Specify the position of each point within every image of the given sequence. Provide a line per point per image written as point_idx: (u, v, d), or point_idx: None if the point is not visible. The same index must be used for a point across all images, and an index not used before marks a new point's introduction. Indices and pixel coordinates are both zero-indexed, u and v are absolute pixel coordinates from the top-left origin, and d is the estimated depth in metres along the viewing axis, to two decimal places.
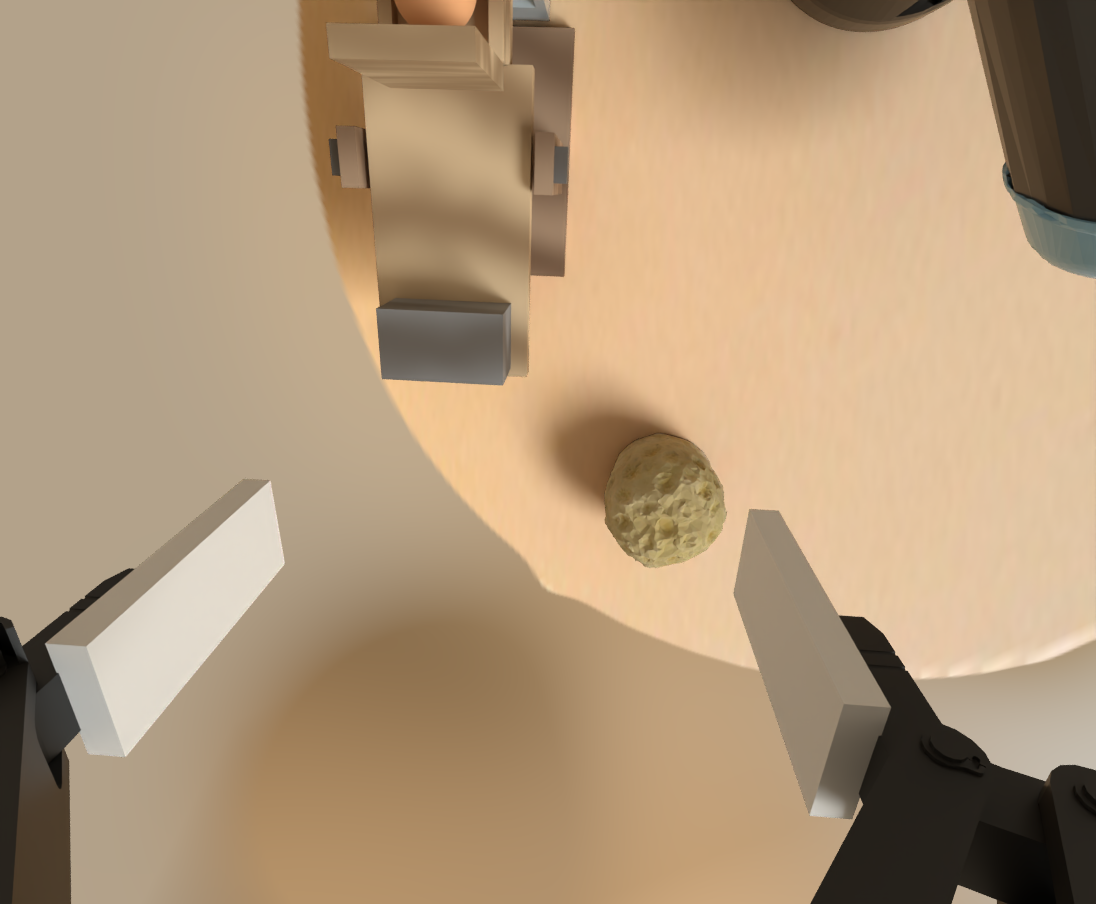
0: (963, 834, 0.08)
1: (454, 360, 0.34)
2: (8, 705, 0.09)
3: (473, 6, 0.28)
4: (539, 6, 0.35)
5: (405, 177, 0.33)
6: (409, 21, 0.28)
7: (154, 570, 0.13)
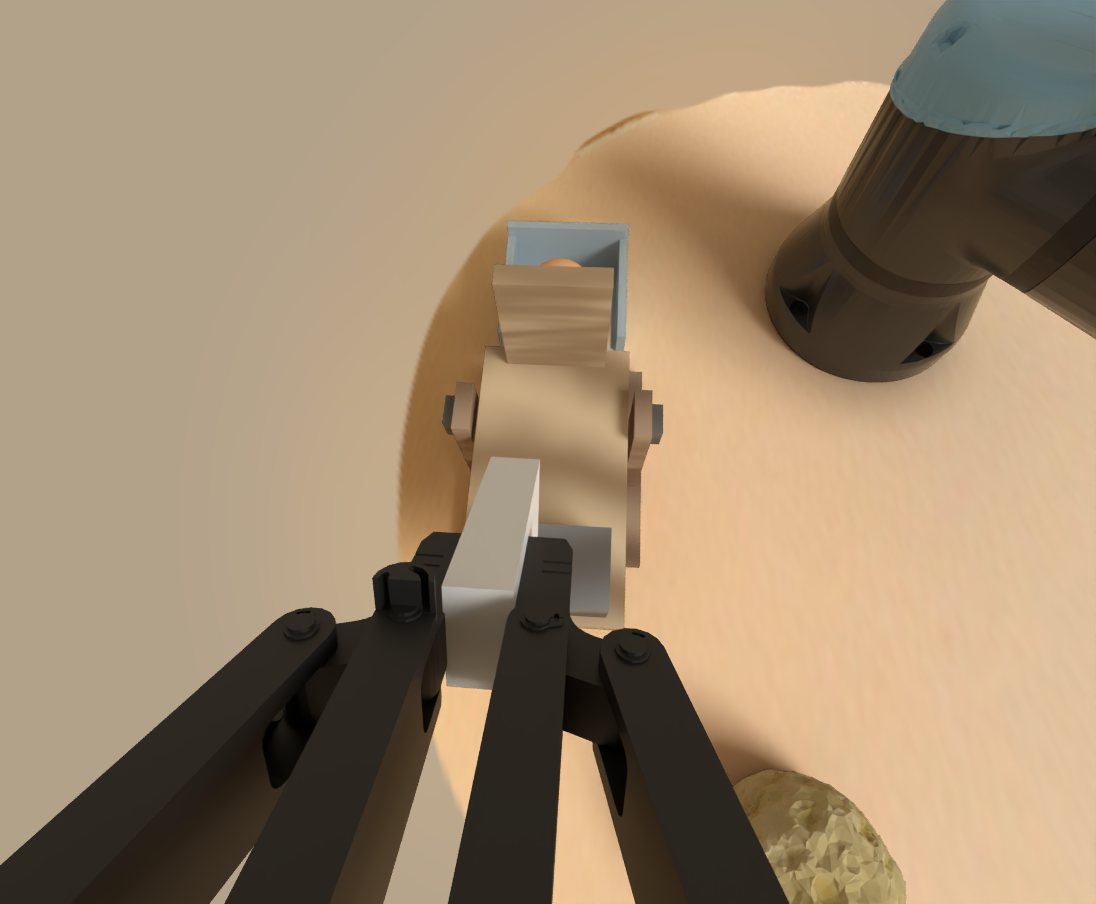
0: (559, 671, 0.10)
1: None
2: (411, 649, 0.11)
3: None
4: (618, 349, 0.45)
5: (510, 427, 0.36)
6: None
7: (480, 530, 0.14)
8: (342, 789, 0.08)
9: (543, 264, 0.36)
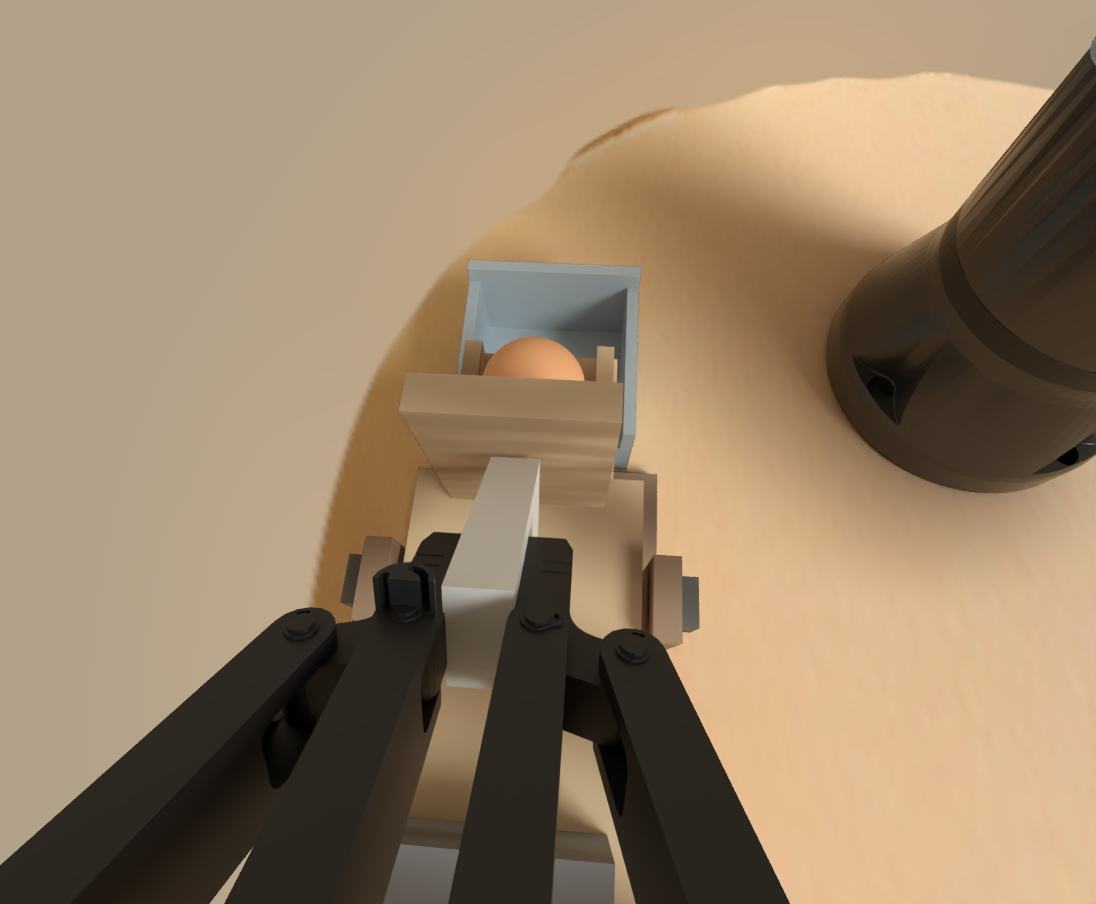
0: (559, 671, 0.10)
1: None
2: (410, 649, 0.11)
3: None
4: (624, 447, 0.31)
5: None
6: None
7: (480, 530, 0.14)
8: (342, 788, 0.08)
9: (506, 348, 0.22)
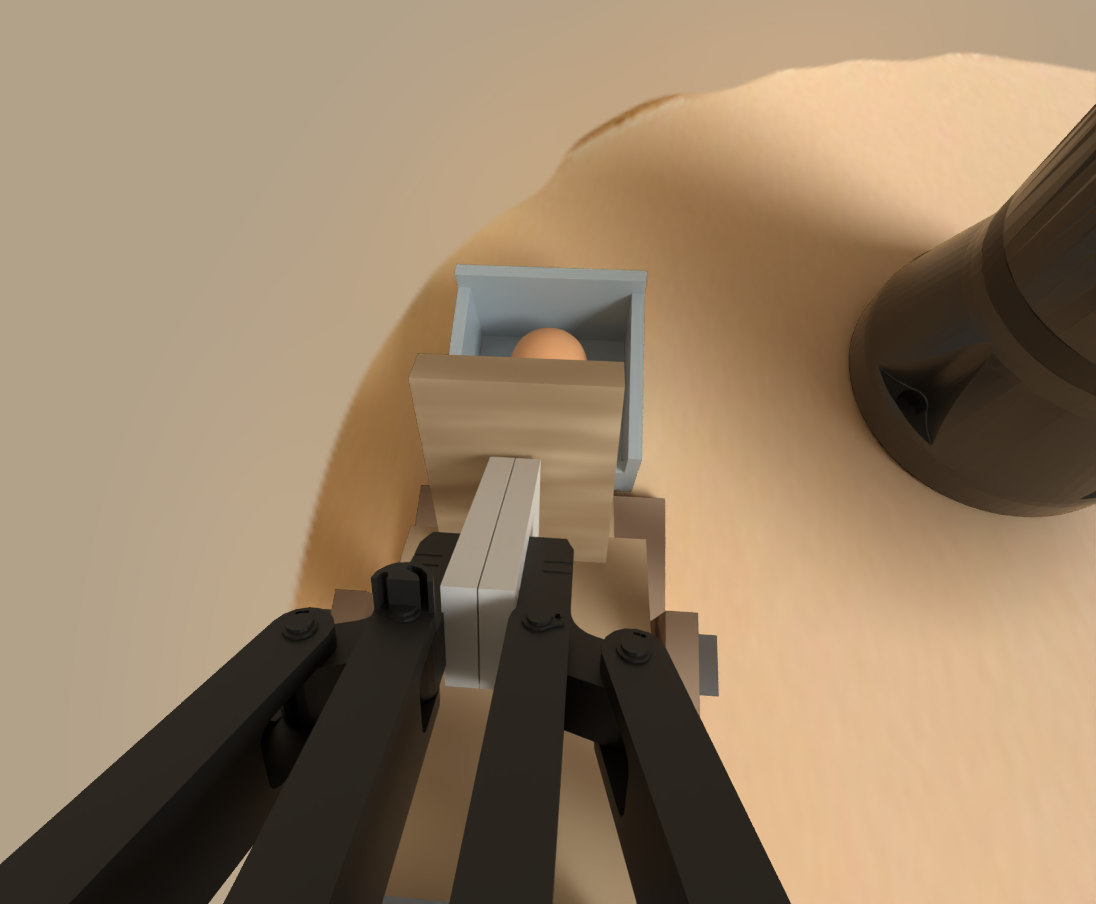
0: (561, 671, 0.10)
1: None
2: (409, 648, 0.11)
3: None
4: (629, 471, 0.28)
5: None
6: None
7: (479, 530, 0.14)
8: (340, 789, 0.08)
9: None
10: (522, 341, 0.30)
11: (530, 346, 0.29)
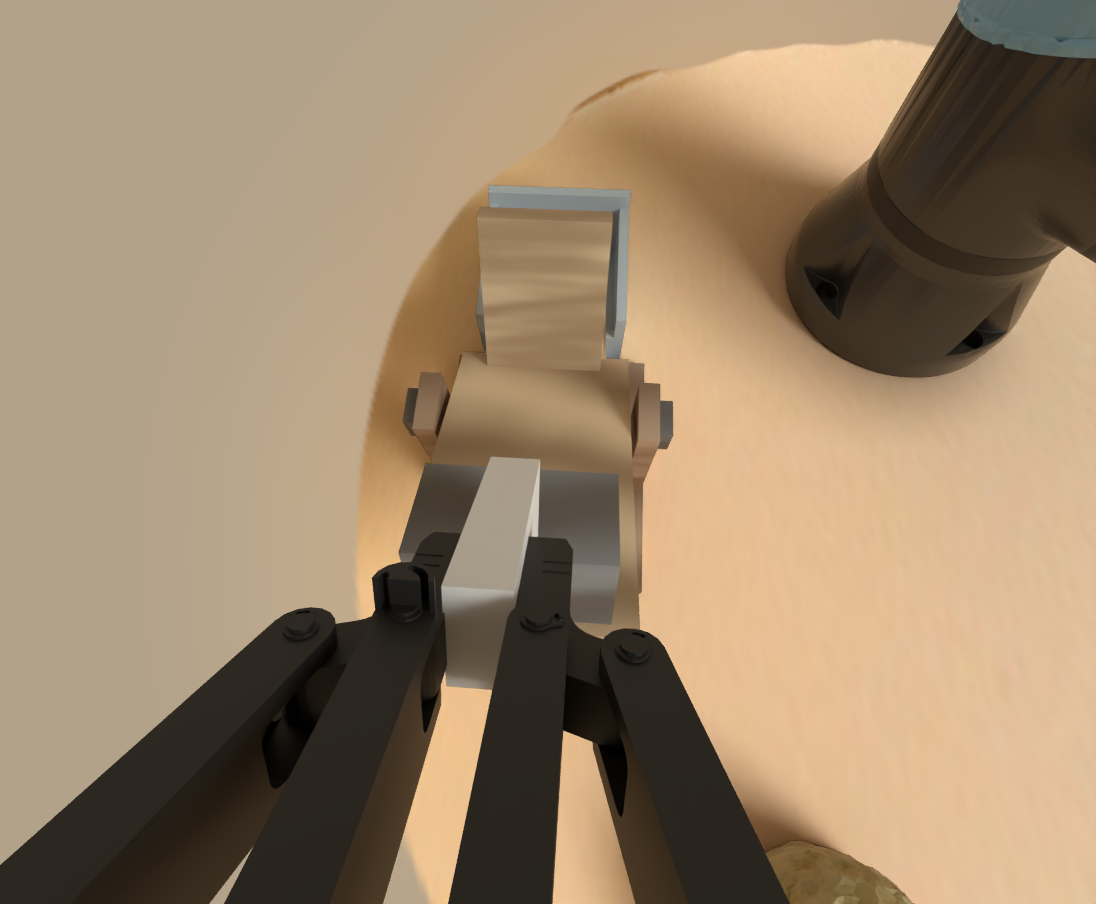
0: (559, 671, 0.10)
1: None
2: (410, 648, 0.11)
3: None
4: (617, 336, 0.38)
5: (485, 418, 0.29)
6: None
7: (480, 530, 0.14)
8: (341, 789, 0.08)
9: None
10: None
11: None
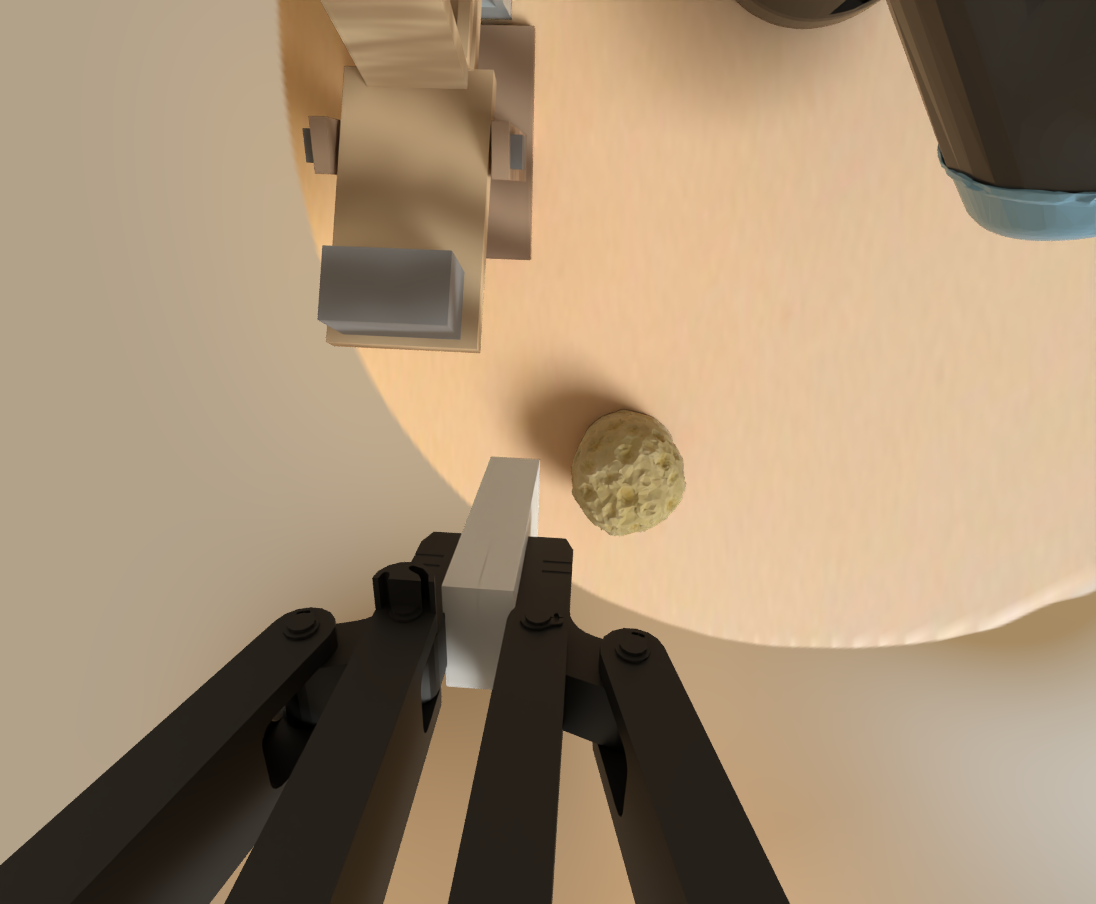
0: (559, 671, 0.10)
1: (397, 299, 0.32)
2: (411, 649, 0.11)
3: None
4: (499, 5, 0.38)
5: (371, 158, 0.36)
6: None
7: (481, 530, 0.14)
8: (342, 788, 0.08)
9: None
10: None
11: None
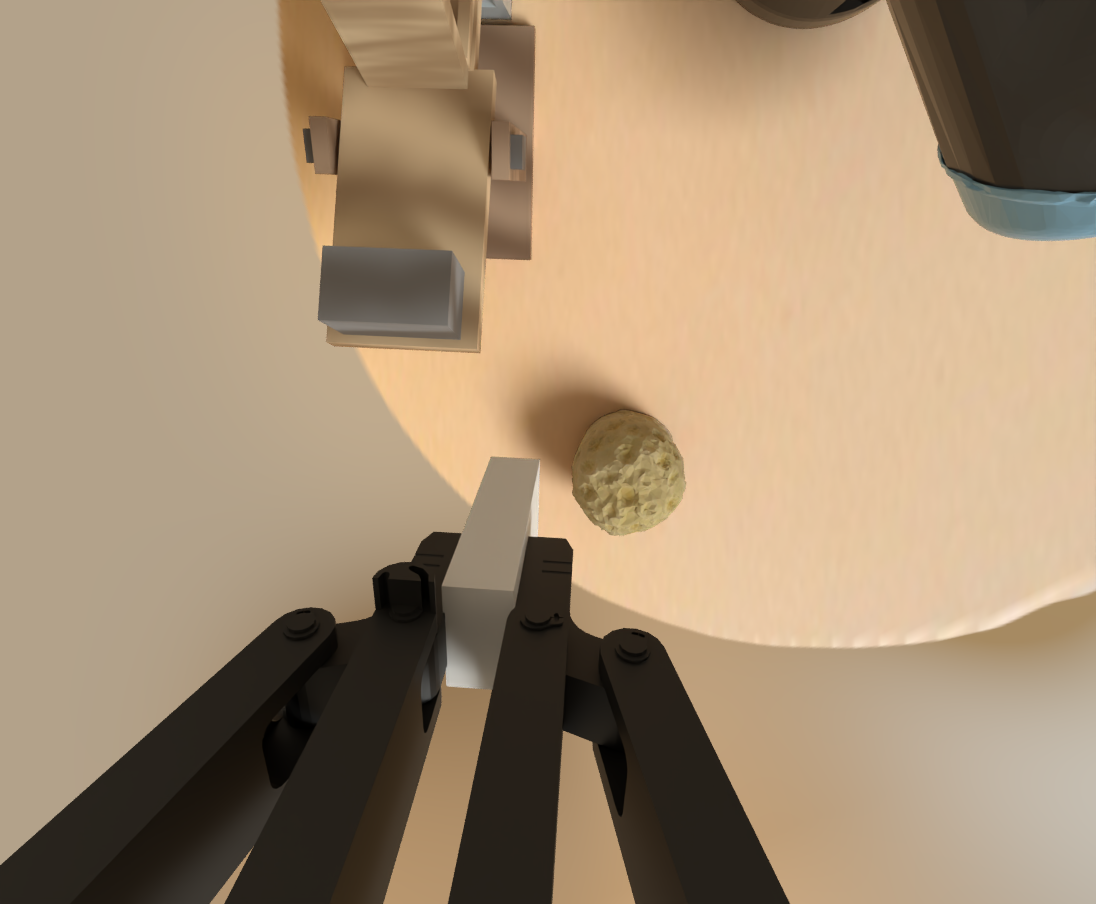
0: (559, 671, 0.10)
1: (397, 299, 0.32)
2: (410, 649, 0.11)
3: None
4: (499, 6, 0.38)
5: (371, 158, 0.36)
6: None
7: (480, 530, 0.14)
8: (342, 788, 0.08)
9: None
10: None
11: None
